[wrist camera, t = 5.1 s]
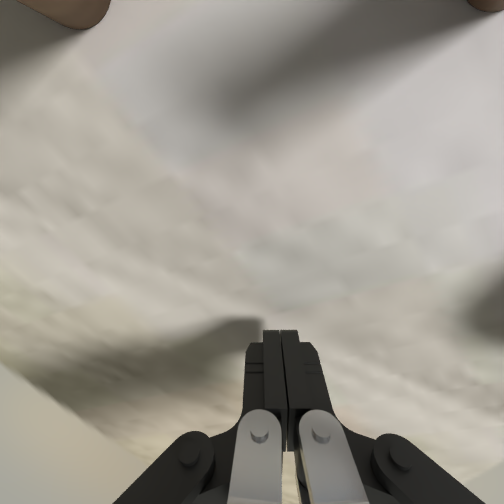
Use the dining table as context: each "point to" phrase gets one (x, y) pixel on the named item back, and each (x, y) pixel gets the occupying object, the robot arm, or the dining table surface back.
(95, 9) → the post
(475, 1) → the post
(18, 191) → the dining table surface
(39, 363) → the dining table surface
